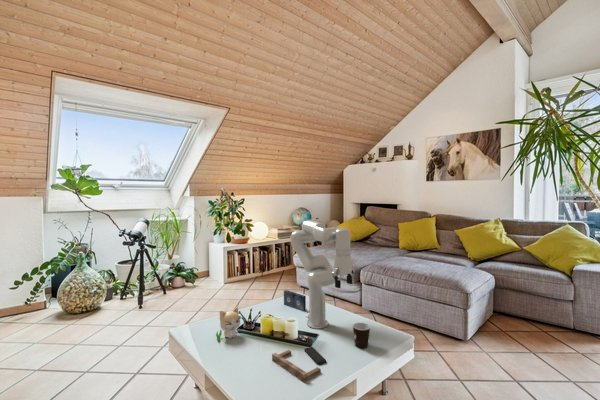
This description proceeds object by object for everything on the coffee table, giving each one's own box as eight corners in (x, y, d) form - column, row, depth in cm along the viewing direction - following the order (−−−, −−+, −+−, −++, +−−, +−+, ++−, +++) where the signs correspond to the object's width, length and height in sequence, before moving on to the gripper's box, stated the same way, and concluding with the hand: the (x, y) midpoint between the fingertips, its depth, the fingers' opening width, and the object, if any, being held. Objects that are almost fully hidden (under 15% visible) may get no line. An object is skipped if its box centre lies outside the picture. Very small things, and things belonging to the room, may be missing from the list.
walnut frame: (272, 360, 144) (272, 354, 144) (288, 352, 151) (288, 346, 151) (303, 382, 128) (303, 374, 128) (320, 372, 135) (320, 365, 134)
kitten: (219, 344, 160) (219, 315, 159) (212, 336, 168) (212, 309, 168) (246, 336, 169) (245, 309, 168) (238, 329, 177) (237, 303, 176)
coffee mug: (370, 350, 152) (370, 330, 152) (352, 349, 154) (352, 329, 154) (369, 339, 164) (369, 320, 163) (353, 338, 165) (353, 319, 165)
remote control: (303, 352, 153) (317, 366, 140) (303, 348, 153) (317, 362, 140) (312, 349, 155) (327, 363, 142) (312, 346, 155) (327, 360, 142)
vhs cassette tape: (306, 310, 204) (305, 295, 203) (302, 311, 202) (302, 296, 201) (286, 303, 216) (286, 289, 216) (283, 304, 214) (283, 290, 214)
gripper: (347, 249, 168) (348, 280, 168) (326, 254, 156) (327, 287, 156) (358, 251, 163) (359, 283, 163) (338, 256, 151) (339, 290, 151)
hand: (343, 285), depth 160 cm, fingers open, 9 cm apart
